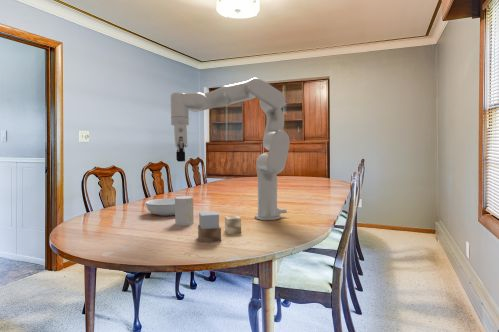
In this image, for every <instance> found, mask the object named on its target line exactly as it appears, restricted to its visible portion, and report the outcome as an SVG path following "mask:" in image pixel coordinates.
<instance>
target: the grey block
mask: <svg viewBox="0 0 499 332" xmlns="http://www.w3.org/2000/svg"><path fill="white" fill-rule="evenodd" d="M198 214H199V215H198V216H199V217H198V218H199V219H198V220H199V224H198V225H200V227H201V229H212V228H219V226H220V214H219V213H218V212H217V211H216V210H215V211H212V210H211V211H200V212H199V213H198Z"/></svg>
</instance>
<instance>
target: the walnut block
mask: <svg viewBox="0 0 499 332" xmlns="http://www.w3.org/2000/svg"><path fill="white" fill-rule="evenodd" d="M197 230H198V231H197V237H198V239H199V242H200V243H201V244H205V243H213V242H215V243H216V242H222V227H221V226H220V225H219V228H212V229H201V227H200V225H199V224H198V225H197Z"/></svg>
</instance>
